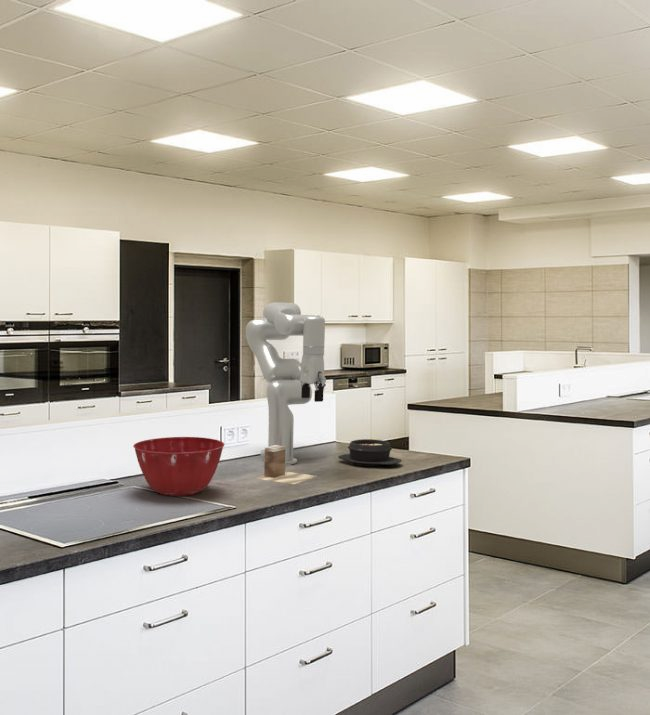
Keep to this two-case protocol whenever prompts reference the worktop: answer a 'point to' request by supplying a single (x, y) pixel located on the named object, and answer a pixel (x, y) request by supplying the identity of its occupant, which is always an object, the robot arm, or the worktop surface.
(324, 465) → the worktop surface
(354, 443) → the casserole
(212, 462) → the mixing bowl
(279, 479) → the oak board
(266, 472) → the walnut block
